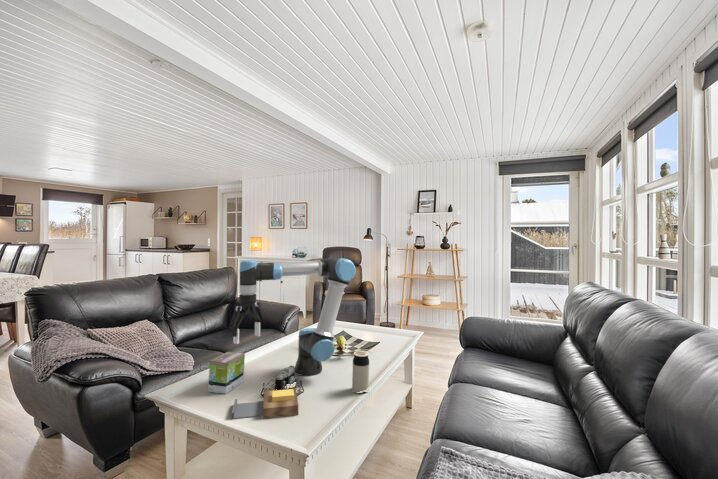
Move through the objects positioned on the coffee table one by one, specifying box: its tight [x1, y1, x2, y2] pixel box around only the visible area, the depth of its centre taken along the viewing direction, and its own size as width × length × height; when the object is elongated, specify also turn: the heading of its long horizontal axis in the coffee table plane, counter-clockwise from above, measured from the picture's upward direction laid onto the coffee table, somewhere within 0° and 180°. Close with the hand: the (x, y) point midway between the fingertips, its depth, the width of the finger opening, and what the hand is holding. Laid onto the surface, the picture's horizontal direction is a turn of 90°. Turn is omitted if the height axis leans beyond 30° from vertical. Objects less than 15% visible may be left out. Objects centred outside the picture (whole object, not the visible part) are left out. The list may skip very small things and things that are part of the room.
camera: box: [274, 365, 298, 390], centre depth 160 cm, size 15×7×10 cm, turn 162°
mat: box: [231, 398, 264, 420], centre depth 139 cm, size 12×12×2 cm
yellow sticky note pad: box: [271, 388, 294, 402], centre depth 143 cm, size 9×6×2 cm, turn 104°
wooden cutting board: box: [262, 388, 299, 420], centre depth 142 cm, size 14×16×4 cm
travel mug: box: [351, 350, 370, 393], centre depth 161 cm, size 8×8×18 cm
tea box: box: [207, 351, 246, 395], centre depth 161 cm, size 15×10×15 cm, turn 168°
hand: (247, 339), depth 154 cm, fingers open, 13 cm apart
